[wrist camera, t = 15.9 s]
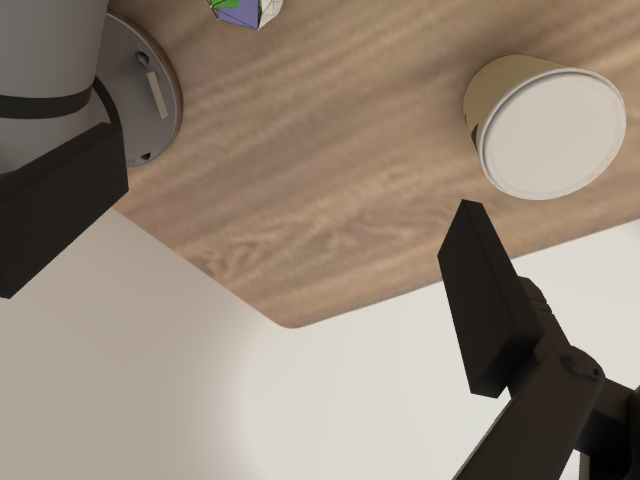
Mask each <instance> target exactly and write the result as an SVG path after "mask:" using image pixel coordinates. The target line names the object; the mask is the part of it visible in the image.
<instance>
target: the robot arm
mask: <svg viewBox="0 0 640 480" xmlns="http://www.w3.org/2000/svg"><path fill="white" fill-rule="evenodd" d="M108 1H109V0H0V297H2V298H7V299H10V298H11V297H12V296H13V295H14V294H16V292H18V291H19V290H20V289H21V288H22V287H23V286H24V285H25V284H27V282H29V281H30V280H31V279H32V278H33V277H34V276H35V275H37V274H38V273H39V272H40V271H41V270H42V269H43V268H44V267H45V266H46V265H47V264H48V263H50V262H51V261H52V260H53V259H54V258H55V257H56V256H57V255H58V254H60V252H62V251H63V250H64V249H65V248H66V247H67V246H68V245H70V244H71V243H72V242H73V241H74V240H75V239H76V238H77V237H78V236H79V235H80V234H81V233H83V232H84V231H85V230H86V229H87V228H88V227H89V226H90V225H92V224H93V223H94V222H95V221H96V220H97V219H98V218H99V217H100V216H101V215H103V214H104V213H105V212H106V211H107V210H108V209H109V208H110V207H111V206H112V205H114V204H115V203H116V202H117V201H118V200H119V199H120V198H121V197H122V196H123V195H125V194H126V193H127V192H128V191H129V188H128V178H127V168H130V167H136V166H140V165H143V164H146V163H148V162H150V161H152V160H153V159H155V158H156V157H157V156H159V155H160V154H161V153H162V152H164V151H165V150H166V149H167V148H168V147H169V146H170V145H171V143H172V142H173V141H174V139H175V137H176V136H177V133H178V131H179V128H180V125H181V120H182V111H183V108H182V95H181V90H180V86H179V83H178V80H177V77H176V74H175V72H174V70H173V68H172V65H171V64H170V62H169V60H168V58H167V57H166V55H165V54H164V52H163V51H162V49H161V48H160V47H159V45H158V44H157V43H156V42H155V41H154V39H153V38H152V37H151V36H150V35H149V34H148V33H147V32H146V31H144V30H143V29H142V28H141V27H140V26H138V25H137V24H136V23H135V22H133V21H132V20H130V19H128V18H127V17H125V16H123V15H121V14H119V13H117V12H115V11H113V10H110V9H107V7H108ZM437 257H438V261H439V265H440V269H441V273H442V277H443V281H444V285H445V290H446V294H447V298H448V302H449V306H450V310H451V314H452V318H453V322H454V326H455V330H456V334H457V338H458V343H459V347H460V350H461V355H462V359H463V363H464V367H465V371H466V375H467V379H468V383H469V387H470V391H471V393H472V394H477V395H482V396H487V397H491V398H498V397H499V396H500V394H501V393H502V392H503V390H504V389H505V388H506V386H507V387H508V390H509V393H510V396H511V400H510V401H509V402H508V404H507V405H506V406H505V408H504V409H503V410H502V412H501V413H500V414H499V415H498V417H497V418H496V419H495V421H494V423H493V424H492V425H491V427H490V428H489V430H488V431H487V432H486V434H485V435H484V436H483V438H482V439H481V440H480V442H479V443H478V445H477V446H476V447H475V449H474V450H473V451H472V453H471V454H470V456H469V457H468V458H467V460H466V461H465V462H464V464H463V465H462V466H461V468H460V469H459V470H458V472H457V473H456V475H455V476H454V477H453V479H452V480H559V478H560V476H561V474H562V472H563V470H564V468H565V465H566V463H567V461H568V459H569V457H570V455H571V453H572V451H573V449H575V450H577V451H579V452H580V465H579V480H640V386H639V387H637V388H636V389H635V390H632V389H630V388H628V387H625V386H623V385H621V384H618V383H616V382H614V381H611V380H609V379H607V378H605V374H604V372H603V370H602V368H601V366H600V365H599V364H598V363H597V362H596V361H595V360H594V359H593V358H592V357H591V356H589V355H588V354H587V353H586V352H584V351H582V350H580V349H578V348H576V347H574V346H571V345H570V343H569V342H568V340H567V338H566V336H565V334H564V332H563V331H562V329H561V327H560V325H559V323H558V321H557V320H556V318H555V316H554V315H553V314H552V310H551V308H550V307H549V305H548V304H547V301H546V299H545V297H544V296H543V294H542V292H541V290H540V289H539V288H538V287H537V286H536V285H535V284H534V283H533V282H532V281H531V280H530V279H529V278H525V277H520V276H518V275H517V274H516V271H515V269H514V267H513V265H512V263H511V261H510V259H509V257H508V255H507V253H506V251H505V249H504V247H503V245H502V243H501V241H500V239H499V237H498V235H497V233H496V231H495V229H494V227H493V225H492V223H491V221H490V219H489V217H488V215H487V213H486V211H485V209H484V207H483V205H482V203H478V202H474V201H469V200H464V199H462V201H461V203H460V205H459V208H458V210H457V212H456V214H455V217H454V219H453V221H452V223H451V226H450V228H449V230H448V233H447V235H446V237H445V239H444V242H443V244H442V246H441V248H440V251H439V253H438V255H437Z"/></svg>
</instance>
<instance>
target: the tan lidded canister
mask: <svg viewBox="0 0 640 480" xmlns="http://www.w3.org/2000/svg"><path fill="white" fill-rule="evenodd" d="M463 114H464V118H465V121H466V124H467V127H468V129H469V132H470V135H471V137H472V140H473V142H474V145H475V148H476V150H477V153H478V155H479V160H480V164H481V167H482V169H483V171H484V173H485V175H486V176H487V178H488V179H489V180H490V181H491V183H492V184H493V185H495V186H496V187H497V188H498V189H500V190H501V191H503V192H505V193H507V194H509V195H511V196H514V197H518V198H523V199H531V200H546V199H552V198H557V197H561V196H564V195H567V194H570V193H572V192H574V191H576V190H578V189H580V188H582V187H584V186H585V185H587V184H588V183H590V182H591V181H593V180H594V179H595V178H596V177H597V176H599V175H600V174H601V173H602V172H603V171H604V170H605V169H606V168H607V167H608V165H609V164H610V163H611V162H612V160H613V159H614V157H615V156H616V154H617V152H618V151H619V149H620V146H621V144H622V141H623V138H624V135H625V129H626V110H625V105H624V102H623V99H622V97H621V95H620V93H619V91H618V90H617V88H616V87H615V86H614V85H613V84H612V83H611V82H610V81H609V80H608V79H606V78H605V77H603V76H602V75H600V74H598V73H596V72H593V71H590V70H587V69H582V68H575V67H569V66H565V65H562V64H558V63H555V62H551V61H547V60H543V59H539V58H535V57H531V56H526V55H507V56H503V57H500V58H497V59H495V60H493V61H491V62H490V63H488V64H487V65H485V66H484V67H483V68H482V69H480V70H479V71H478V72H477V73H476V75H475V76H474V77H473V78H472V80H471V81H470V83H469V85H468V87H467V89H466V92H465V95H464V99H463Z"/></svg>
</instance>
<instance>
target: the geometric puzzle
mask: <svg viewBox="0 0 640 480" xmlns="http://www.w3.org/2000/svg"><path fill="white" fill-rule="evenodd" d="M207 1H208V0H207ZM283 2H284V0H210V4H209V5H210V8H213V7H218V17H217V16H216V17H217V20H223V21H226V22H230V23H234V24H238V25H241V26H245V27H249V28H252V29H256V30H257V31H259V29H260V28H261V27H263V26H264V25H265V24H266V23H268V22H269V21H270V20H272V19H273V18H274V17H276V16H277V15H278V14H279V13H280V10H281V7H282V4H283ZM208 3H209V2H208ZM259 8H261V10H262V16H261V12H260V16H261V20H260V18H259ZM214 9H215V8H214ZM212 10H213V9H212ZM216 10H217V9H216ZM213 12H214V11H213ZM214 13H215V12H214ZM215 15H216V14H215ZM259 22H260V24H259Z"/></svg>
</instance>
